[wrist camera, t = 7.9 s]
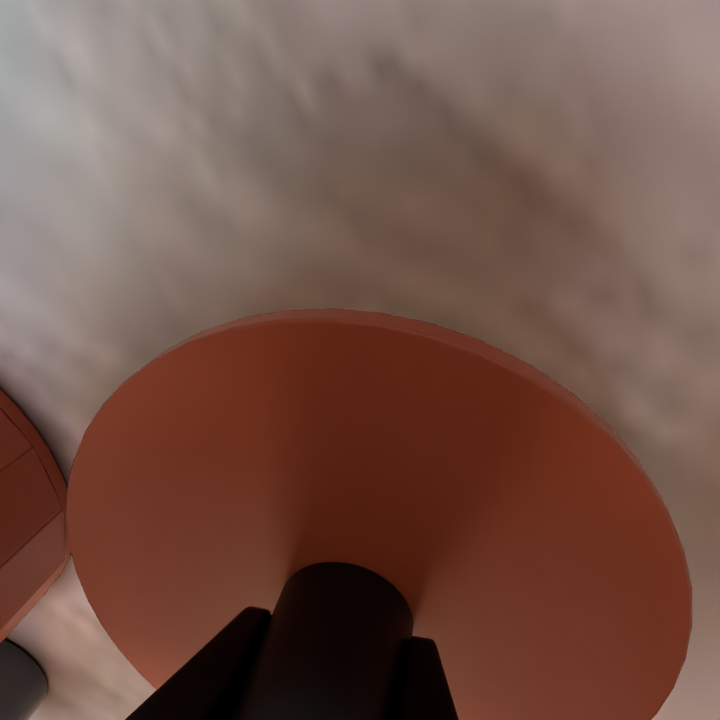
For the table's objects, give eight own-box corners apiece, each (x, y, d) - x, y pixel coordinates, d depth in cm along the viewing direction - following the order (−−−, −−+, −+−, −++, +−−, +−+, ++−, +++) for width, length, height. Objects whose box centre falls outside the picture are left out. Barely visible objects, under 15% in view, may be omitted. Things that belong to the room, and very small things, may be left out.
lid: (691, 252, 7) (1102, 499, 2) (656, 772, 11) (784, 1229, 6) (17, 329, 10) (-392, 514, 5) (190, 723, 14) (48, 1021, 9)
